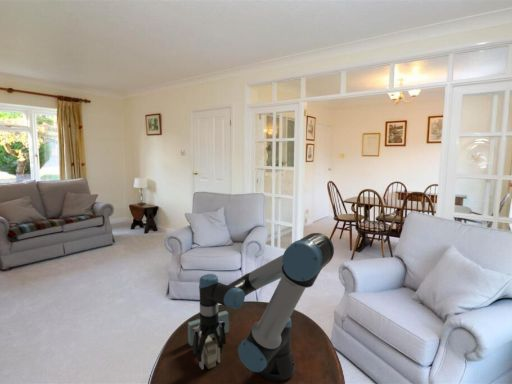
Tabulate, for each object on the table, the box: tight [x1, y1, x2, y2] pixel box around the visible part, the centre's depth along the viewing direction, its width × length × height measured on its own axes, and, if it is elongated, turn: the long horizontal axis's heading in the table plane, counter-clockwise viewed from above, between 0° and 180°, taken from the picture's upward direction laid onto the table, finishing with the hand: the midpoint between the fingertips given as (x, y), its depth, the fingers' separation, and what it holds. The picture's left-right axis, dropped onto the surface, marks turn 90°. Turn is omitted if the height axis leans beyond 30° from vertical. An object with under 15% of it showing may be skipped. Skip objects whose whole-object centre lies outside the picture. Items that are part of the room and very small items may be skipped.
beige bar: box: [193, 326, 217, 370], centre depth 131 cm, size 16×4×10 cm, turn 34°
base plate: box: [187, 310, 230, 347], centre depth 145 cm, size 20×3×10 cm, turn 124°
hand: (209, 364), depth 126 cm, fingers open, 7 cm apart
